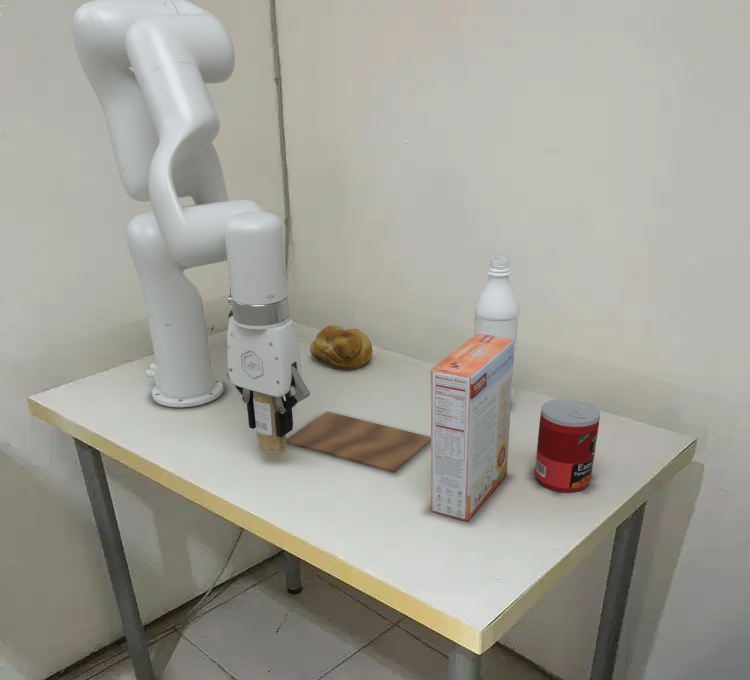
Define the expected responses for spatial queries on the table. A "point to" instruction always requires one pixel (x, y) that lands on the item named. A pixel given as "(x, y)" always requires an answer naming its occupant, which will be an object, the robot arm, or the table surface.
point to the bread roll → (341, 347)
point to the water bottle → (497, 304)
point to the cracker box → (470, 424)
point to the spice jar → (267, 424)
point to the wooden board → (360, 441)
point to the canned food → (566, 444)
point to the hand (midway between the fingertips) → (271, 428)
